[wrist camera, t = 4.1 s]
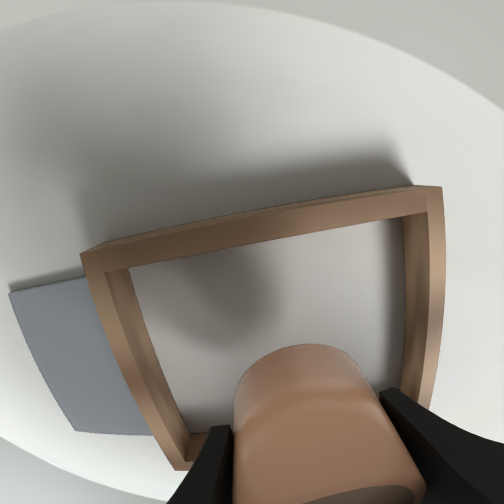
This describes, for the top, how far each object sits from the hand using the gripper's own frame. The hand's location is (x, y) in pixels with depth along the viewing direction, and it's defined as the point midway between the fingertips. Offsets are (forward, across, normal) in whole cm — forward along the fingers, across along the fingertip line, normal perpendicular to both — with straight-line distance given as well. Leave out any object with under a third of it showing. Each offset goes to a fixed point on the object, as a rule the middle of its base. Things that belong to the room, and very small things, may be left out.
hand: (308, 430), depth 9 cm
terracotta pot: (+2, 0, 0) cm, 2 cm away
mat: (+6, +12, 0) cm, 14 cm away
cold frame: (+6, 0, 0) cm, 6 cm away
